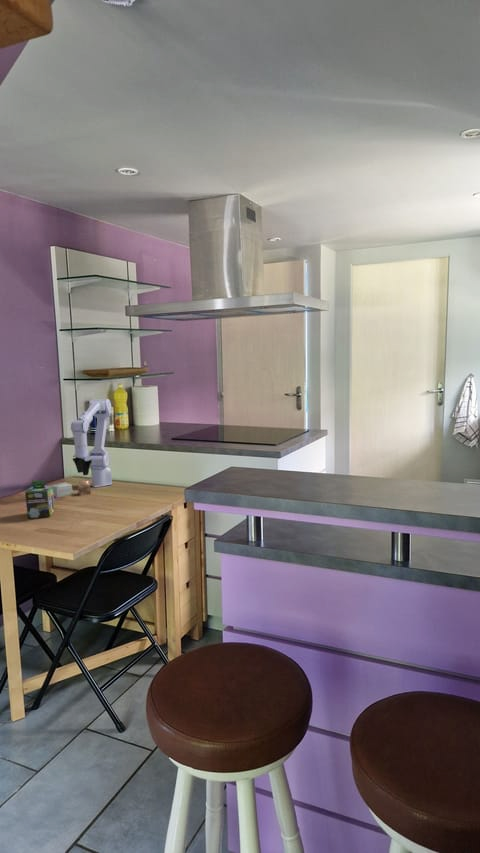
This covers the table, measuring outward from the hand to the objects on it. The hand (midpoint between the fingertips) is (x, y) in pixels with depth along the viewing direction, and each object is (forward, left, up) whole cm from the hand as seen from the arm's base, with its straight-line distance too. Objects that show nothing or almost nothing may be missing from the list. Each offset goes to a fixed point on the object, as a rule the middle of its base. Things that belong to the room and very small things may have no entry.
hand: (83, 473), depth 256 cm
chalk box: (+26, +22, -10) cm, 36 cm away
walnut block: (0, 0, -10) cm, 10 cm away
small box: (+9, -6, -10) cm, 15 cm away
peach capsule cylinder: (-4, -11, -10) cm, 15 cm away
